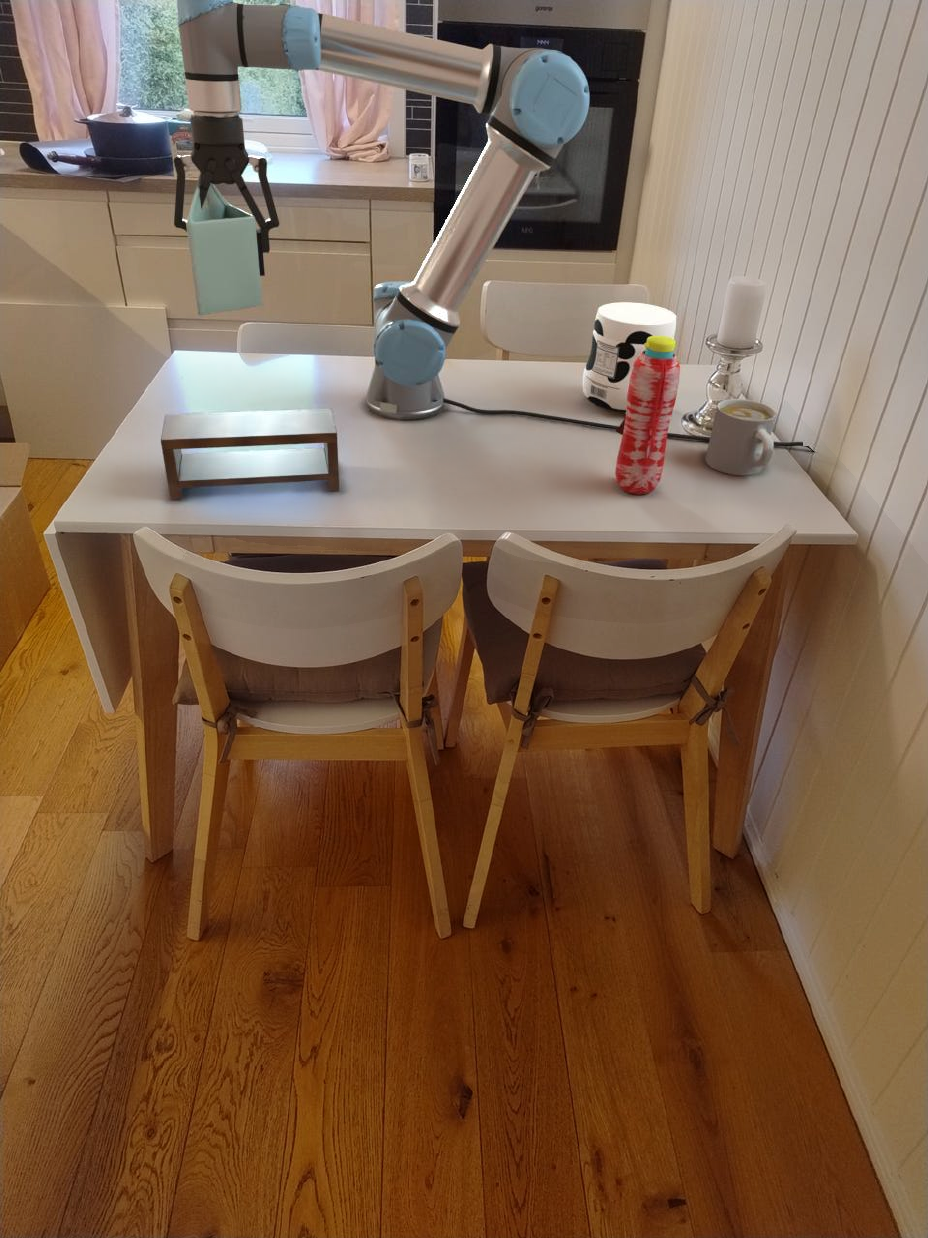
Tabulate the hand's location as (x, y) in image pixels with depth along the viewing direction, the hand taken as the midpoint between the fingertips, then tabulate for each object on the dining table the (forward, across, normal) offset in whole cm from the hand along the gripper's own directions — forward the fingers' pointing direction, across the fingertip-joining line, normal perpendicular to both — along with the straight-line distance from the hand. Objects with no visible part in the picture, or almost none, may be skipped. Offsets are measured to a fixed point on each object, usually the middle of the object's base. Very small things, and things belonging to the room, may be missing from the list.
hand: (232, 273), depth 141 cm
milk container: (+28, -74, -4) cm, 79 cm away
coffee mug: (+28, -83, +27) cm, 92 cm away
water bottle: (+28, -62, +30) cm, 74 cm away
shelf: (+27, 0, +20) cm, 34 cm away
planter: (+5, -1, 0) cm, 5 cm away
